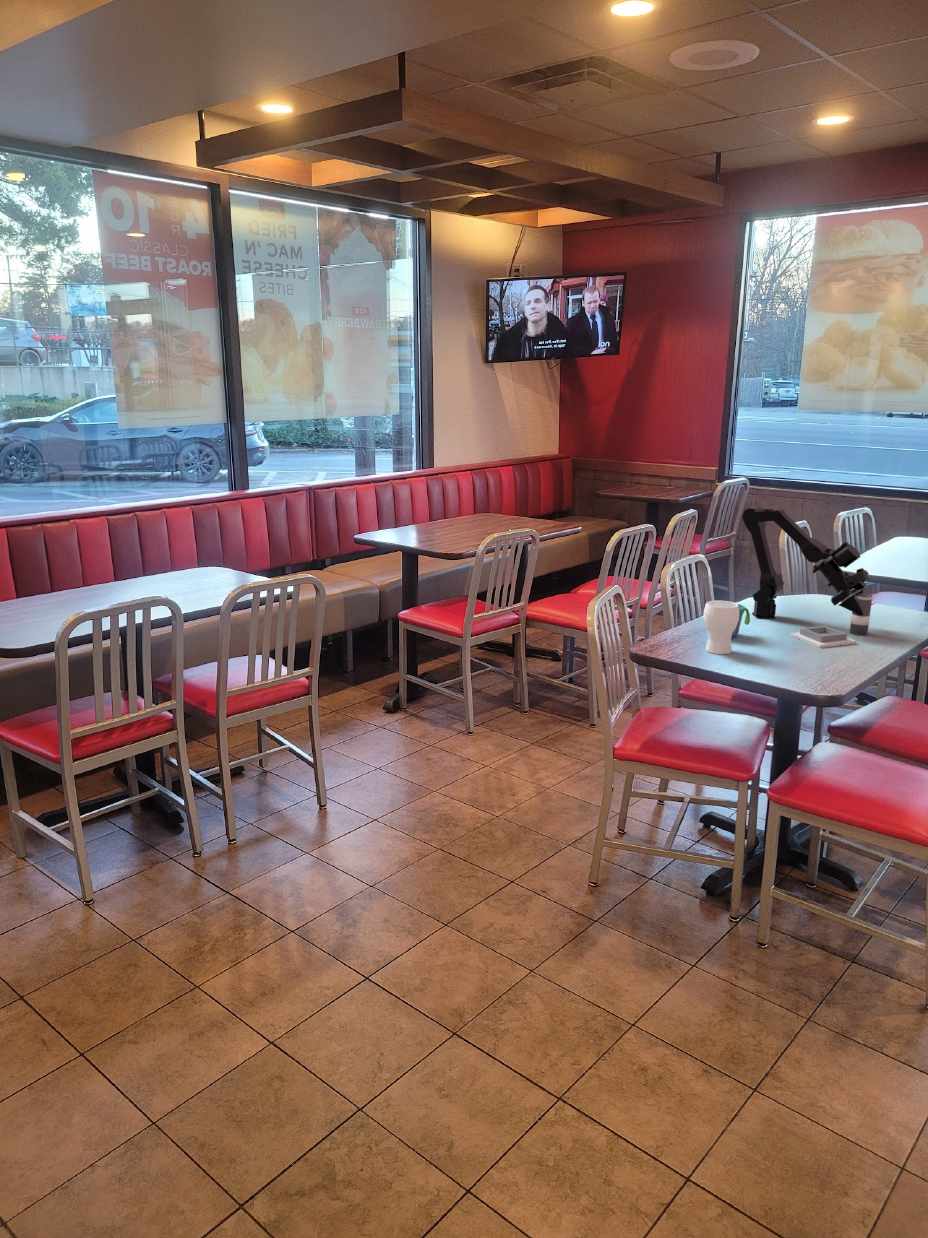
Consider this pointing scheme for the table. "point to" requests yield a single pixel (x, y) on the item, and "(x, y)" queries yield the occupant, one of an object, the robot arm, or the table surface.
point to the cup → (720, 625)
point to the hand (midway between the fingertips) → (865, 613)
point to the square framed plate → (823, 636)
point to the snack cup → (747, 619)
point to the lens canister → (862, 622)
